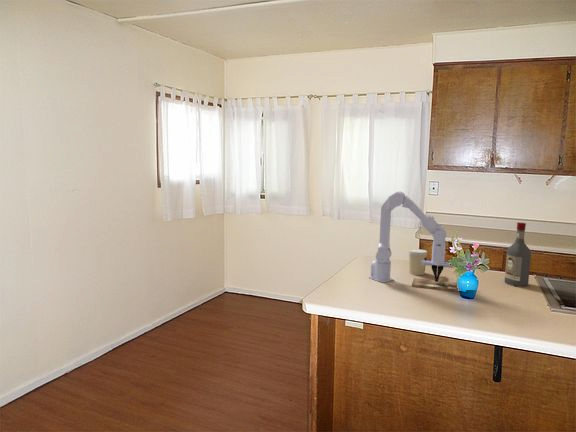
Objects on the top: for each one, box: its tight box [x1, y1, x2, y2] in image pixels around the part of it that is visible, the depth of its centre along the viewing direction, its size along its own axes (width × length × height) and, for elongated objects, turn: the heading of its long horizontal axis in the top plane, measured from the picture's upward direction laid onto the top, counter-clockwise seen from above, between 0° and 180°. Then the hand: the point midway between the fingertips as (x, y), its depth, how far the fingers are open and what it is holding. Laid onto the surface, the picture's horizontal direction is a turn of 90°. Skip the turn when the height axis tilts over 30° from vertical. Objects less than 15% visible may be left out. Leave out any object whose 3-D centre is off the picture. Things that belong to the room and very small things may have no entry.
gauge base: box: [411, 277, 459, 293], centre depth 207 cm, size 24×12×5 cm, turn 69°
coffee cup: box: [408, 248, 428, 276], centre depth 230 cm, size 9×9×12 cm
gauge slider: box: [438, 275, 450, 286], centre depth 205 cm, size 4×8×3 cm, turn 159°
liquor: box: [504, 222, 532, 287], centre depth 211 cm, size 9×9×30 cm
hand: (436, 281), depth 208 cm, fingers closed
